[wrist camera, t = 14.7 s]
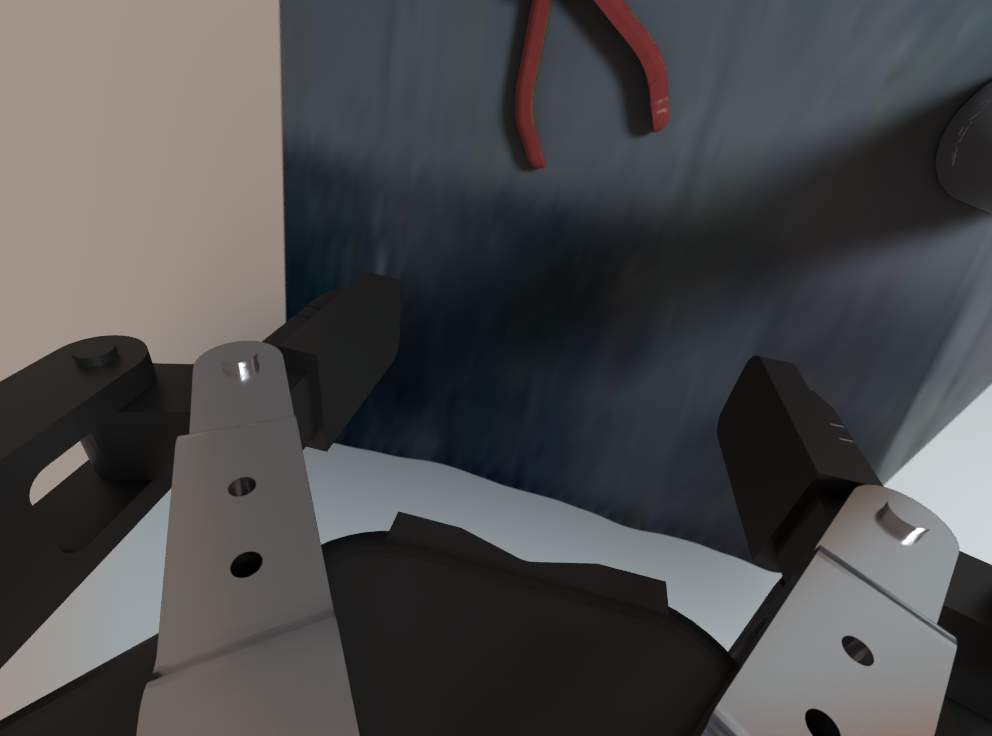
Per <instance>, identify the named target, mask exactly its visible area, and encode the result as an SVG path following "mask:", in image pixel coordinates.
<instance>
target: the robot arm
mask: <svg viewBox="0 0 992 736" xmlns="http://www.w3.org/2000/svg"><path fill="white" fill-rule="evenodd" d="M936 173H937V177H938V180H939V182H940V184H941V186H942V187H943V189H944V190H945V191H946V192H947V193H948V194H949V195H951V196H952V197H953V198H954V199H957V200H959V201H962V202H964V203H966V204H969V205H971V206H974V207H976V208H979V209H981V210H983V211H986V212H988V213H991V214H992V81H991V82H989V83H988V84H987V85H986V86H984V87H983V88H982V89H981V90H979V91H978V92H977V93H976V94H974V95H973V96H972V97H971V98H970V99H969V100H968V101H967V102H966V103H965V104H964V105H963V106H962V107H961V108H960V109H959V110H958V112H957V113H956V115H955V116H954V117H953V119H952V120H951V122H950V123H949V124H948V126H947V128H946V130H945V132H944V134H943V136H942V138H941V140H940V143H939V146H938V150H937V154H936ZM400 295H401V289H400V283H399V280H398V279H396V278H392V277H387V276H382V275H378V274H373V273H368V272H365V273H364V274H362V275H361V276H360V277H359V278H358V279H356V280H355V281H354V282H353V283H352V284H350V285H349V286H348V287H347V288H346V289H345V288H338V289H335V290H333V291H330V292H327V293H324V294H322V295H320V296H319V297H318V298H316V299H315V300H314V301H312V302H311V303H310V304H309V305H308V307H307V308H306V307H305V308H304V309H302V310H301V311H300V312H299V313H297V316H294V317H292V318H291V319H290V320H289V321H287V322H286V323H285V324H284V325H283V326H281V327H280V328H279V329H277V330H276V331H275V332H274V333H272V334H271V335H270V336H269V337H267V338H266V339H265V340H264V341H262V342H257V341H238V342H232V343H227V344H223V345H220V346H217V347H215V348H212V349H210V350H208V351H206V352H205V353H203V354H202V355H201V356H200V357H199V358H198V359H197V360H196V362H195V364H155V363H152V360H151V357H150V354H149V352H148V349H147V346H146V345H145V343H144V342H142V341H141V340H139V339H136V338H133V337H127V336H117V335H114V336H99V337H94V338H88V339H84V340H80V341H77V342H74V343H71V344H68V345H66V346H64V347H62V348H60V349H58V350H56V351H54V352H52V353H51V354H49V355H47V356H45V357H43V358H42V359H40V360H38V361H36V362H34V363H33V364H31V365H29V366H27V367H26V368H24V369H22V370H20V371H18V372H17V373H15V374H13V375H12V376H10V377H8V378H6V379H4V380H3V381H1V382H0V669H1V667H2V666H3V665H4V664H5V663H6V662H7V661H8V660H9V659H10V658H11V657H12V656H13V655H14V654H15V653H16V652H17V650H18V649H19V648H20V647H21V646H22V645H23V644H24V643H25V642H26V641H27V640H28V639H29V638H30V637H31V636H32V635H33V634H34V633H35V631H36V630H37V629H38V628H39V627H40V626H41V625H42V624H43V623H44V622H45V621H46V620H47V619H48V618H49V617H50V616H51V615H52V613H53V612H54V611H55V610H56V609H57V608H58V607H59V606H60V605H61V604H62V603H63V602H64V601H65V600H66V599H67V597H69V595H70V594H71V593H72V592H73V591H74V590H75V589H76V588H77V587H78V586H79V585H80V584H81V583H82V582H83V581H84V580H85V579H86V577H87V576H88V575H89V574H90V573H91V572H92V571H93V570H94V569H95V568H96V567H97V566H98V565H99V564H100V563H101V562H102V561H103V559H104V558H105V557H106V556H107V555H108V554H109V553H110V552H111V551H112V550H113V549H114V548H115V547H116V546H117V545H118V544H119V543H120V541H121V540H122V539H123V538H124V537H125V536H126V535H127V534H128V533H129V532H130V531H131V530H132V529H133V528H134V527H135V526H136V525H137V523H138V522H139V521H140V520H141V519H142V518H143V517H144V516H145V515H146V514H147V513H148V512H149V511H150V510H151V509H152V508H153V507H154V505H155V504H156V503H157V502H158V501H159V500H160V499H161V498H162V497H163V496H164V495H165V494H166V493H167V492H168V491H169V490H170V489H171V487H172V490H171V501H170V512H169V523H168V534H167V546H166V557H165V568H164V580H163V591H162V602H161V614H160V625H159V633H158V634H156V635H155V636H152V637H151V638H149V639H147V640H145V641H143V642H142V643H140V644H138V645H136V646H134V647H132V648H131V649H129V650H127V651H125V652H123V653H122V654H120V655H118V656H116V657H114V658H113V659H111V660H109V661H107V662H105V663H104V664H102V665H100V666H98V667H96V668H94V669H93V670H91V671H89V672H87V673H85V674H84V675H82V676H80V677H78V678H77V679H75V680H73V681H71V682H69V683H67V684H66V685H64V686H62V687H60V688H58V689H57V690H55V691H53V692H51V693H49V694H47V695H46V696H44V697H42V698H40V699H38V700H37V701H35V702H33V703H31V704H29V705H28V706H26V707H24V708H22V709H20V710H19V711H17V712H15V713H13V714H11V715H9V716H8V717H6V718H4V719H2V720H0V736H992V565H990V564H988V563H986V562H984V561H981V560H979V559H977V558H974V557H972V556H970V555H967V554H965V553H963V552H961V551H959V545H958V542H957V540H956V537H955V536H954V534H953V533H952V531H951V530H950V529H949V528H948V526H947V525H946V524H945V523H944V522H943V521H942V520H941V519H940V518H939V517H938V516H937V515H935V514H934V513H933V512H932V511H930V510H929V509H927V508H926V507H925V506H923V505H922V504H920V503H919V502H917V501H915V500H914V499H912V498H910V497H908V496H906V495H904V494H902V493H900V492H897V491H895V490H892V489H889V488H886V487H884V486H883V485H882V483H881V482H880V480H879V479H878V477H877V476H876V474H875V472H874V471H873V469H872V468H871V466H870V465H869V463H868V461H867V460H866V458H865V457H864V455H863V454H862V452H861V451H860V449H859V447H858V446H857V444H855V443H853V438H852V436H851V435H850V433H849V432H848V430H847V429H845V428H844V424H843V422H842V421H841V419H840V418H839V416H838V415H837V413H836V411H835V410H834V408H833V407H832V406H830V405H829V404H828V403H827V402H826V401H825V400H823V399H822V398H821V397H820V396H819V395H818V394H816V393H815V392H814V391H812V390H810V389H809V387H808V386H807V384H806V382H805V381H804V379H803V377H802V376H801V374H800V372H799V371H798V369H797V367H796V366H795V365H794V364H793V363H789V362H784V361H779V360H775V359H770V358H765V357H761V356H753V357H752V358H751V359H750V360H749V361H748V362H747V364H746V365H745V367H744V369H743V371H742V373H741V375H740V377H739V379H738V381H737V383H736V384H735V386H734V388H733V390H732V392H731V394H730V396H729V398H728V400H727V402H726V404H725V406H724V408H723V410H722V412H721V414H720V417H719V421H718V428H717V435H718V440H719V444H720V447H721V451H722V454H723V458H724V462H725V465H726V469H727V472H728V476H729V479H730V483H731V486H732V490H733V494H734V497H735V501H736V504H737V508H738V511H739V515H740V518H741V522H742V526H743V529H744V533H745V536H746V540H747V543H748V547H749V550H750V554H751V558H752V561H753V562H757V563H761V564H765V565H769V566H773V567H777V568H780V570H781V573H782V578H781V579H780V580H779V581H778V582H777V583H776V585H775V586H774V587H773V588H772V590H771V591H770V593H769V594H768V596H767V597H766V598H765V600H764V601H763V603H762V604H761V606H760V607H759V608H758V610H757V611H756V613H755V614H754V616H753V617H752V619H751V620H750V621H749V623H748V624H747V626H746V627H745V628H744V630H743V631H742V633H741V634H740V636H739V637H738V638H737V640H736V641H735V643H734V644H733V645H732V647H731V648H730V650H729V651H728V652H727V651H726V650H725V648H724V647H722V646H721V645H720V644H719V643H718V642H717V641H716V640H715V639H714V638H713V637H712V636H711V635H709V634H708V633H707V632H706V631H705V630H703V629H702V628H700V627H699V626H698V625H696V623H694V622H693V621H692V620H690V619H688V618H687V617H685V616H684V615H682V614H680V613H679V612H678V611H676V610H674V609H672V608H670V607H669V606H668V598H667V589H666V582H665V581H661V580H657V579H653V578H650V577H646V576H642V575H638V574H634V573H631V572H627V571H623V570H619V569H615V568H612V567H608V566H604V565H600V564H588V563H586V564H585V563H583V564H582V563H549V562H548V563H547V562H528V561H524V560H521V559H519V558H517V557H515V556H513V555H512V554H510V553H508V552H506V551H504V550H502V549H500V548H498V547H496V546H494V545H493V544H491V543H489V542H487V541H485V540H483V539H481V538H479V537H477V536H475V535H474V534H472V533H470V532H468V531H466V530H464V529H462V528H459V527H455V526H452V525H448V524H444V523H440V522H436V521H433V520H429V519H425V518H421V517H417V516H413V515H410V514H406V513H402V512H398V514H397V516H396V518H395V520H394V522H393V525H392V526H391V529H390V530H389V531H375V532H364V533H359V534H354V535H348V536H345V537H342V538H338V539H335V540H332V541H329V542H326V543H324V544H322V545H321V543H320V538H319V533H318V527H317V522H316V517H315V512H314V507H313V502H312V497H311V492H310V487H309V481H308V476H307V471H306V466H305V461H304V455H303V450H304V448H305V447H306V446H307V447H310V448H314V449H319V450H322V451H326V452H327V451H328V449H329V448H330V447H331V445H332V444H333V443H334V441H335V440H336V438H337V437H338V436H339V434H340V433H341V432H342V430H343V429H344V428H345V426H346V425H347V423H348V422H349V421H350V419H351V418H352V417H353V415H354V414H355V413H356V411H357V410H358V409H359V407H360V406H361V404H362V403H363V402H364V400H365V399H366V398H367V396H368V395H369V394H370V392H371V391H372V389H373V388H374V387H375V385H376V384H377V383H378V381H379V380H380V379H381V377H382V376H383V374H384V373H385V372H386V370H387V369H388V368H389V366H390V365H391V364H392V362H393V360H394V359H395V356H396V354H397V350H398V346H399V340H400ZM79 441H81V443H82V446H83V448H84V450H85V452H86V454H87V456H88V458H89V460H88V461H87V462H85V463H84V464H83V465H82V466H81V467H79V468H78V469H77V470H76V471H74V472H73V473H72V474H71V475H70V476H68V477H67V478H66V479H65V480H64V481H62V482H61V483H60V484H59V485H57V486H56V487H55V488H54V489H52V490H51V491H50V492H49V493H48V494H46V495H45V496H44V497H43V498H42V499H40V500H39V501H38V502H37V503H35V504H34V505H33V506H32V504H31V502H30V498H29V493H30V488H31V485H32V483H33V481H34V479H35V478H36V477H37V475H38V474H39V473H40V472H41V471H42V470H43V469H44V468H45V467H46V466H47V465H49V464H50V463H51V462H52V461H54V460H55V459H57V458H58V457H59V456H61V455H62V454H63V453H64V452H66V451H67V450H68V449H70V448H71V447H72V446H74V445H75V444H76V443H77V442H79Z"/></svg>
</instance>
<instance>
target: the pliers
mask: <svg viewBox="0 0 992 736" xmlns="http://www.w3.org/2000/svg"><path fill="white" fill-rule="evenodd" d="M593 1H594V2H595V4H596V5H597V6H598V7H599V9H600V10H601V11H602V12H603V13H604V15H605V16H606V17H607V18H608V20H609V21H610V22H611V23H612V25H613V26H614V27H615V28H616V30H617V31H618V32H619V33H620V35H621V36H622V37H623V38H624V40H625V41H626V42H627V43H628V45H629V46H630V47H631V48H632V50H633V51H634V53H635V54H636V56H637V57H638V59H639V61H640V63H641V65H642V67H643V69H644V72H645V75H646V79H647V83H648V91H649V100H650V109H651V117H652V126H653V132H654V133H655V132H658V131H660V130H662V129H663V128H664V127H665V126H666V124H667V122H668V119H669V101H668V89H667V76H666V67H665V64H664V61H663V57H662V55H661V53H660V51H659V49H658V47H657V45H656V44H655V42H654V40H653V38H652V37H651V35H650V34H649V32H648V31H647V30H646V29H645V27H644V26H643V25H642V23H641V22H640V21H639V20H638V18H637V17H636V16H635V15H634V13H633V12H632V11H631V9H630V8H629V7H628V6H627V4H626V3H625V2H624V1H623V0H593ZM552 2H553V0H532V3H531V9H530V14H529V19H528V25H527V30H526V36H525V41H524V46H523V52H522V57H521V63H520V68H519V74H518V79H517V85H516V93H515V118H516V124H517V127H518V130H519V134H520V137H521V140H522V143H523V146H524V150H525V153H526V156H527V159H528V161H529V163H530V164H531V165H532V166H533V167H535V168H543V167H545V166H546V162H545V158H544V154H543V151H542V147H541V143H540V140H539V136H538V133H537V129H536V126H535V120H534V112H533V100H534V90H535V84H536V79H537V74H538V70H539V65H540V60H541V55H542V50H543V45H544V41H545V36H546V31H547V26H548V21H549V17H550V12H551V7H552Z"/></svg>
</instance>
